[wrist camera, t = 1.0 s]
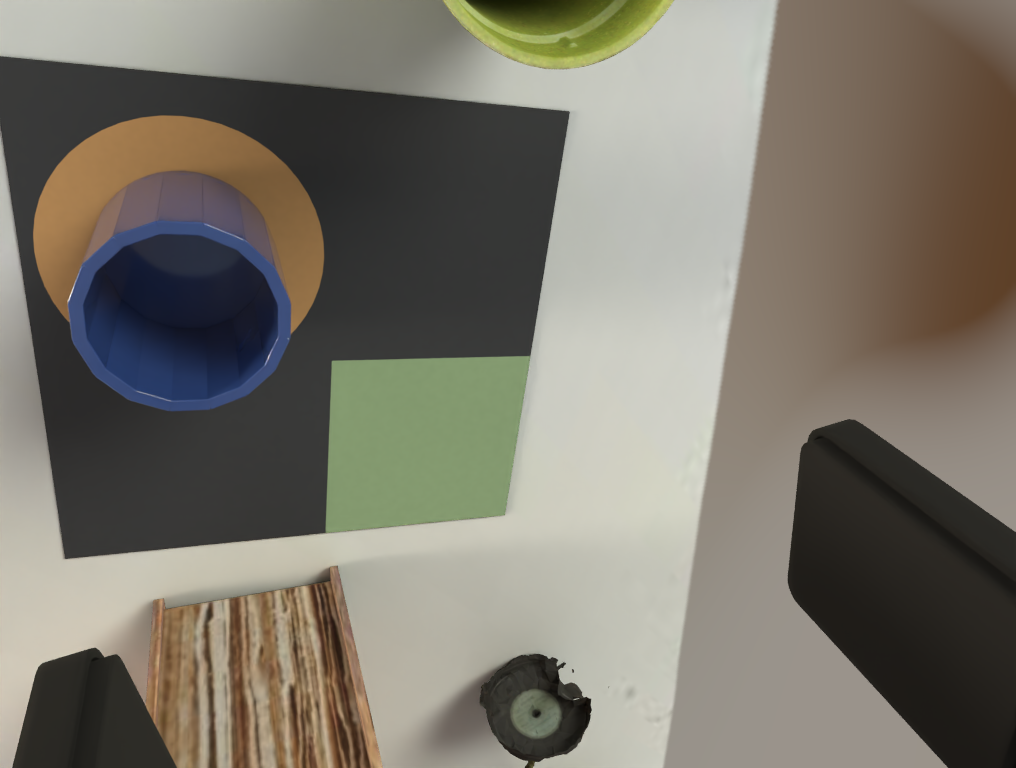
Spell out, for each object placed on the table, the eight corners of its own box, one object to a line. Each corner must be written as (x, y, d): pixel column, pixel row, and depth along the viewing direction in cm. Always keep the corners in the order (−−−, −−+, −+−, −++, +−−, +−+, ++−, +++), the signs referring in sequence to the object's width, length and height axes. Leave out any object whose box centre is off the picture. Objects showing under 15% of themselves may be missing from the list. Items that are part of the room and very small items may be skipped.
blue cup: (102, 332, 32) (81, 415, 27) (84, 164, 29) (56, 217, 24) (274, 330, 35) (290, 407, 29) (275, 175, 32) (291, 225, 26)
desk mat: (65, 557, 37) (65, 559, 37) (-10, 55, 27) (-10, 55, 27) (504, 514, 44) (504, 515, 44) (568, 111, 35) (569, 111, 35)
